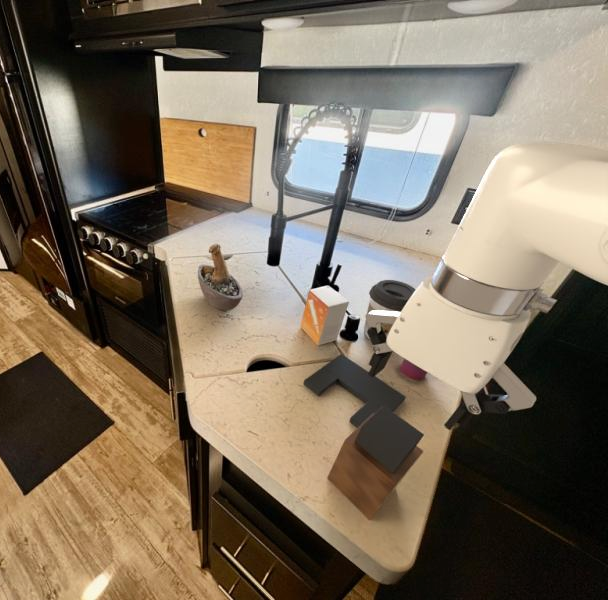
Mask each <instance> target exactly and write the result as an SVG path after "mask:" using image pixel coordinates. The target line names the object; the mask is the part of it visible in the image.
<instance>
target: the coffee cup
mask: <svg viewBox="0 0 608 600" xmlns="http://www.w3.org/2000/svg"><path fill="white" fill-rule="evenodd" d="M415 290H416V288H414V287H413V286H411V285H410V284H408V283H406V282H404V281H398V280H394V279H383V280H380V281H379V282H377V283H375V284H374V285H372V286H371V289H370V290H369V292H368V294H369V301H368V307H367V313H369V312H370V311H372V310H377V311H389V312H401V311H402V309H403V308H404V306H405V305H406V303H407V302H408V300H409V299H410V297H411V296H412V294H413V293H414V292H415ZM367 313H366V314H367ZM392 326H393V324H384V323H381V327H382V328H383V330H384V333H385V335H386V337H387V336H388V334H389V331H390V329H391V328H392ZM367 331H368V327H367V322H366V320H365V322H364V327H363V333H364V336H366V338H367V339H369V340H370V338H369V336H368V333H367Z"/></svg>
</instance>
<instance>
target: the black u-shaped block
mask: <svg viewBox="0 0 608 600" xmlns="http://www.w3.org/2000/svg"><path fill="white" fill-rule="evenodd" d="M368 373H369V371H368V370H367V369H365V368H363V366H360V365H359V364H358V363H356V362H354V361H353V360H352V359H350V358H349V357H347V356H345V355H344V354H342V353H340V354H339V355H337V356H336V357H335V358H333V359H332V360H330V361H329V362H328V363H326V364H325V365H323V366H322V367H321V368H319V369H317V370H316V371H315V372H314V373H312V374H311V375H309V376H308V377H306V378H304V381H303V385H304V386H305V387H306V388H307V389H309V390H310V391H311V392H312V393H313V394H315V395H316V396H317V397H319V396H321V395H322V394H324V393H325V392H326V391H327V390H329V389H330V388H331V387H332V386H334V385H335V384H338V385H339V386H341V387H342V388H343V389H345V390H346V391H347V392H349V393H350V394H351V395H353V396H354V397H356V399H358V400H359V401H361V402H362V403H364V405H362V406H361V407H360V408H359V409H358V410H357V411H356V412H355V413H354V414H352V415H351V417H350V418H349V423H350V424H352V425H353V426H354V427H355V428H356V429H357V428H358V427H359V426H360V425H361V424H362V423H363V422H364V421H365V420H366V419H367V418H369V417H370V416H371V415H372V414H373V413H374V414H375V413H376V412H377V411H378V410H379V409H381V408H382V407H383V406H385V407H386V408H388V409H389V410H391V411H392V412H393V413H395V411H396V410H397V409H398V408H399V407H400V406H402V404H403V403H404V402H405V400H406V398H407V396H405V395H404V394H402V393H401V392H399V391H398V389H397V390H396V389H395V388H394V387H392V386H391V385H389V384H388V383H386V382H384V380H381V379H380V378H378V377H377V376H375V377H371V376H369V375H368Z"/></svg>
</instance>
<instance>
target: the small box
mask: <svg viewBox="0 0 608 600" xmlns="http://www.w3.org/2000/svg"><path fill="white" fill-rule="evenodd" d="M349 304H350V301H349V300H348V299H346V297H344V296H343V295H342V294H340V293H339V292H338V291H336V290H335V289H334V288H333V287H331V286H330V285H324V286H319V287H316V288H311V289H309V290H308V293H307V297H306V302H305V306H304V310H303V314H302V319H301V323H300V329H301V330H302V331H304V333H305V334H306V335H307V336H308V337H309V338H310V339H311V340H312V341H313V342H314V344H315V345H317V346H322V345H325V344H328V343H332V342H334V341H337V340H338V337H339V334H340V331H341V328H342V325H343V322H344V319H345V315H346V313H347V309H348V307H349Z"/></svg>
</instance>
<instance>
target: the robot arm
mask: <svg viewBox="0 0 608 600" xmlns="http://www.w3.org/2000/svg"><path fill="white" fill-rule="evenodd" d="M559 263H561V264H563V265H565V266H566V267H569V268H571V269H572V270H573V271H576V272H578V273H579V274H582V275H583V276H585V277H587V278H589V279H591V280H593V281H596V282H598V283H600V284H603V285H606V286H608V149H603V148H599V147H594V146H588V145H582V144H581V145H580V144H574V143H564V142H553V141H552V142H549V141H527V142H519V143H515V144H512V145H509V146H507V147H505V148H504V149H502V150H501V151H499V153H497V154H496V155H495V157H494V159H492V161H491V163H490V164H489V166H488V168H487V169H486V171H485V174H484V175H483V178H482V179H481V181H480V183H479V185H478V187H477V189H476V191H475V193H474V195H473V197H472V200H471V201H470V203H469V205H468V207H467V209H466V211H465V213H464V215H463V217H462V218H461V221H460V223H459V224H458V227H457V229H456V231H455V232H454V235H453V237H452V239H451V240H450V243H449V244H448V246H447V248H446V250H445V252H444V254H443V256H442V258H441V260H440V262H439V264H438V266H437V267H436V270H435V272H434V273H431V274H429V275H427V276H426V277H425V278H424V279H423V281H422V282H421V283H420V284H419V285H418V286H417V288H415V292H414V293H413V294H412V296H411V297H410V299H409V300H408V302H407V303H406V305H405V306H404V308H403V309H402V311H401V312H389V311H377V310H372V311H370V312H369V313H366V314H365V321H366V322H367V327H368V331H367V333H368V336H369V338H370V339H369V338H368V339H369V341H370V342H371V344H372V347H371V351H372V352H373V353H372V354H371V358H370V360H369V362H368V366H370V369H369V371H368V372H369V373H368V375H369V376H371V377H377V375H378V374H380V372H382V371H383V370H384V369H385V368H386V365H387V364H388V362H389V360H390V357H391V355H392V354H393V352H394V353H395V354H397V355H398V356H400V357H402V358H403V359H404V358H405V359H406V360H408V361H410V362H411V363H413V364H415V365H416V366H418V367H420V368H421V369H423V370H425V371H426V372H428V373H427V374H430V375H431V376H433V377H435V378H436V379H438V380H440V381H441V382H443V383H445V384H447V385H449V386H450V387H452V388H453V389H456V390H458V391H459V392H460V394H461V397H462V399H463V401H462V402H461V403H460V404H459V406H458V407H457V408H456V409H455V410H454V412H453V413H452V415H450V417H449V418H448V419H447V421H445V423H444V424H443V425H444V429H446V430H448V431H451V430H452V429H453V428H454V426H456V424H458V425H459V426H461V427H464V426H465V425H466V424H467V423H468V422H469V421H470V420H471V418H472V417H473V416H474V415H480V414H481V413H491V414H507V413H508V412H511V411H513V412H515V411H520V410H526V409H530V408H532V407H533V406H534V404H535V402H536V401H537V396H536V395H535V394H534V393H533V392H532V390H530V389H529V388H528V387H527V386H526V384H524V383H523V381H522V380H521V379H520V378H519V377H518V376H517V375H516V374H515V373H514V372H513V371H512V370H511V369H510V368H509V367H508V366H507V365H506V363H505V362H506V360H507V359H508V357H510V355H511V353H512V352H513V351H514V349H515V347H516V346H517V344H519V342H520V340H521V339H522V337H523V335H524V333H525V331H526V329H527V326H528V325H529V322H530V320H531V317H532V312H531V311H530V310H532V311H536V310H537V311H539V312H542V313H545V314H548V313H549V311H550V310H551V309H552V308H553V307H554V305H555V304H556V303H557V302H558V299H555V298H553V297H550V296H548V294H546V293H543V291H544V289H543V288H541V287H542V286H543V284H544V282H545V281H546V280H547V279H548V278H549V276H550V275H551V273H552V272H553V271H554V270H555V268H556V267H557V265H558V264H559ZM381 323H384V324H393V326H392V328H391V329H390V331H389V334H388V336H387V337H386V335H385V333H384V330H383V328H382V327H381ZM492 379H493V380H494V381H495V382H496V383H497V384H498V385H499V386H500V387H501V388H502V390H503V391H504V392H506V395H505V394H489V391H488V389H487V386H486V385H487V384H488V383H489V382H490V381H491V380H492Z"/></svg>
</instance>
